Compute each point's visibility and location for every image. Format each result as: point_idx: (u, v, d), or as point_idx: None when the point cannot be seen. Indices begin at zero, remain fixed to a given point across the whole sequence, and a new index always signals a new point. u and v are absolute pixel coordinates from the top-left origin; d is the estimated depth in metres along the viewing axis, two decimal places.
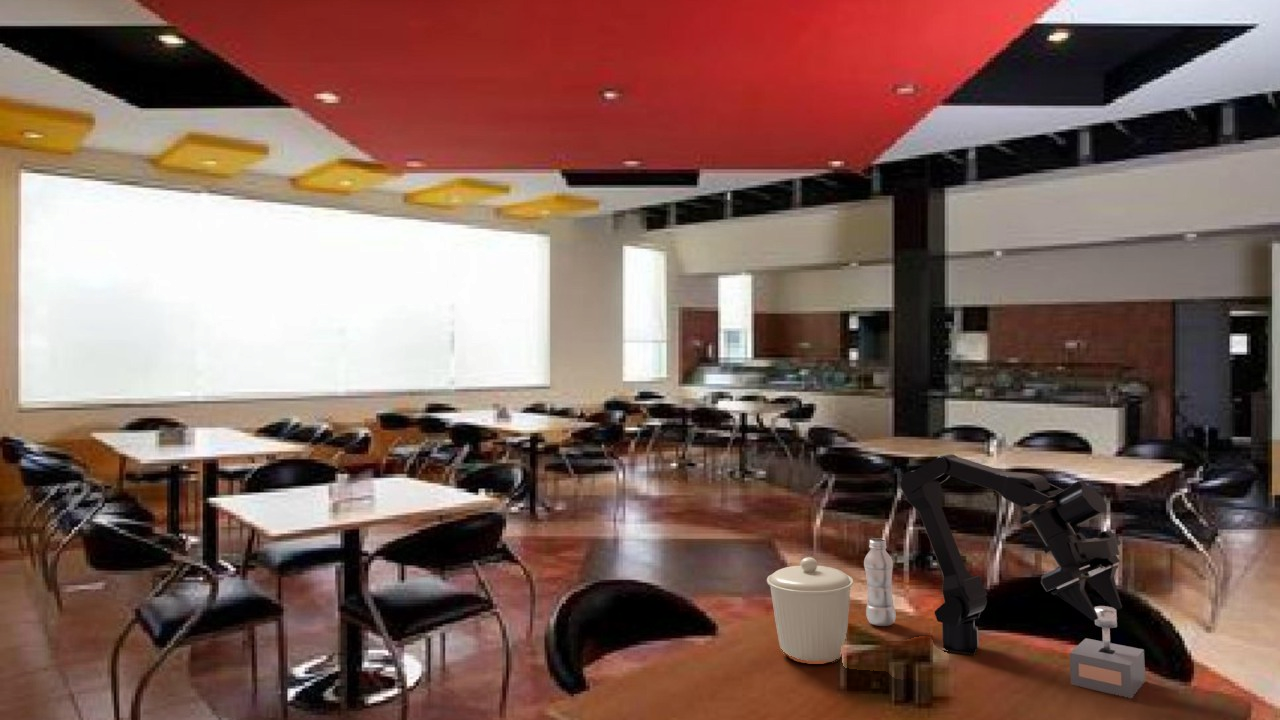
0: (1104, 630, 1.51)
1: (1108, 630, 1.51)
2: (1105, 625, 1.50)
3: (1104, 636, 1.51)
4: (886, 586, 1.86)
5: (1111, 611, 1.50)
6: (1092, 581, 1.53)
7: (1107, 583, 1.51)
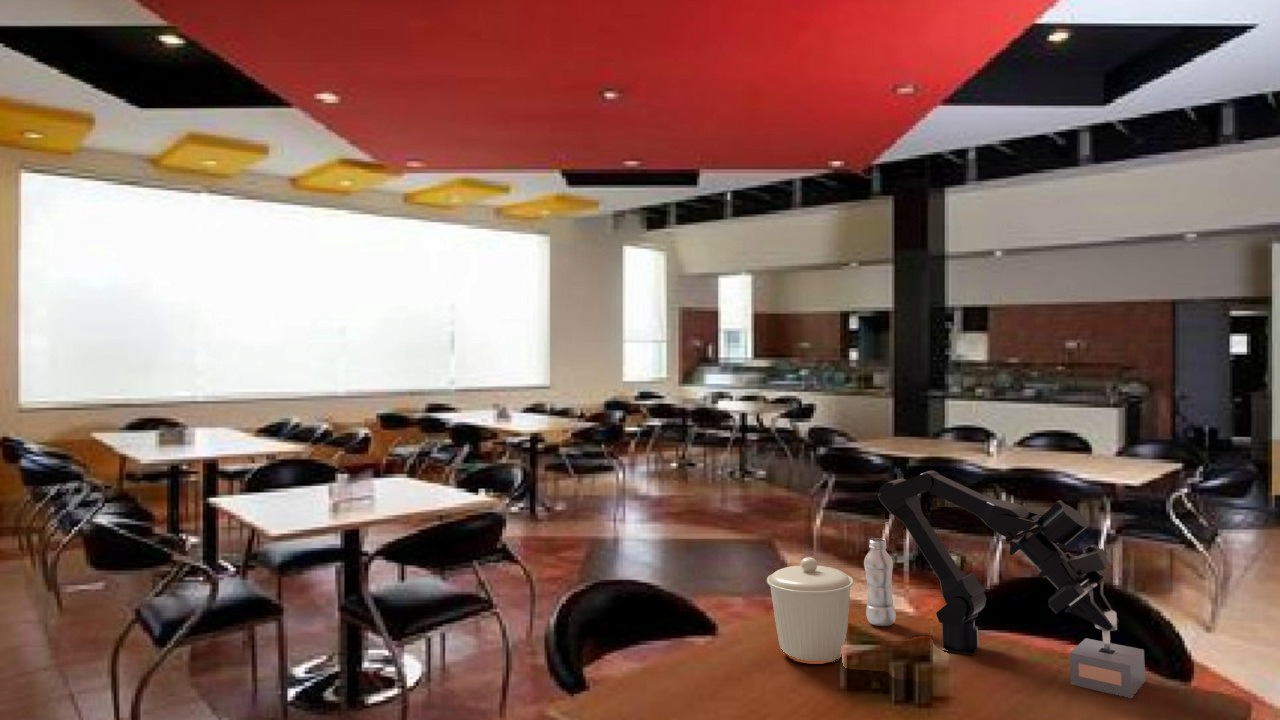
0: (1104, 633, 1.51)
1: (1108, 633, 1.51)
2: None
3: (1104, 639, 1.51)
4: (886, 586, 1.86)
5: (1111, 614, 1.50)
6: None
7: (1099, 600, 1.54)
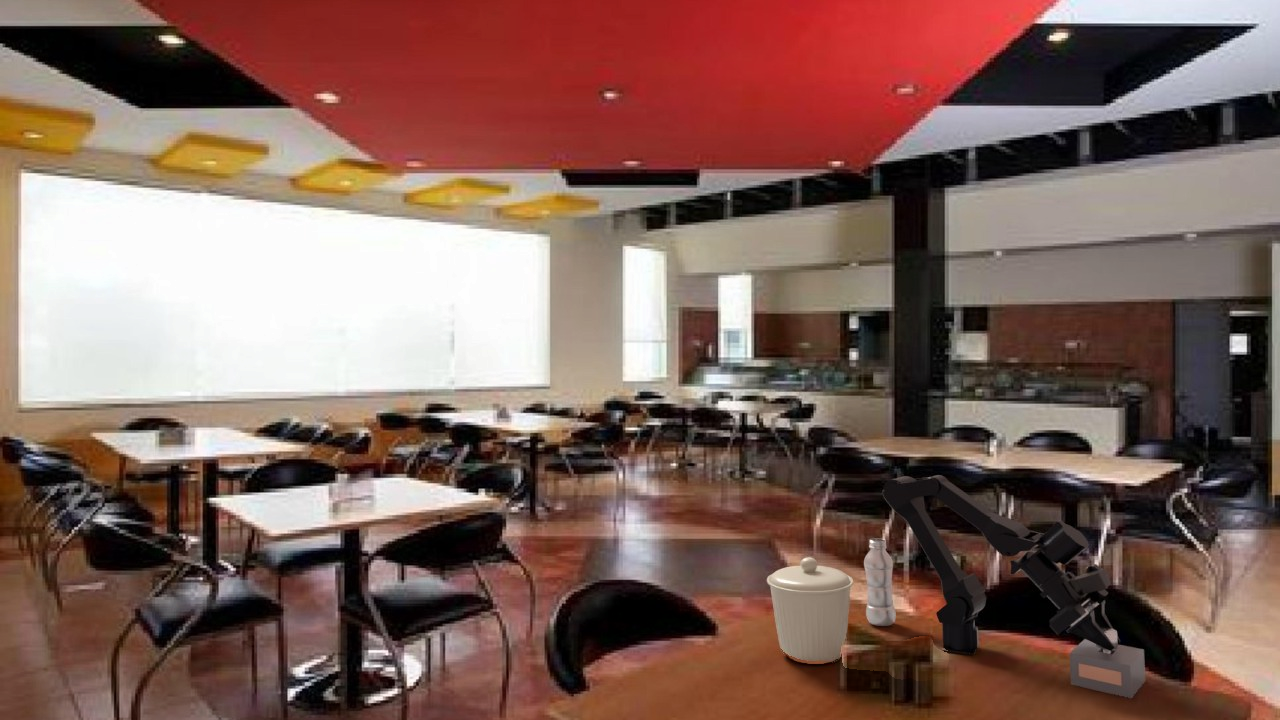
0: (1105, 652, 1.51)
1: (1109, 652, 1.51)
2: None
3: None
4: (886, 586, 1.86)
5: (1112, 633, 1.50)
6: None
7: (1100, 620, 1.54)
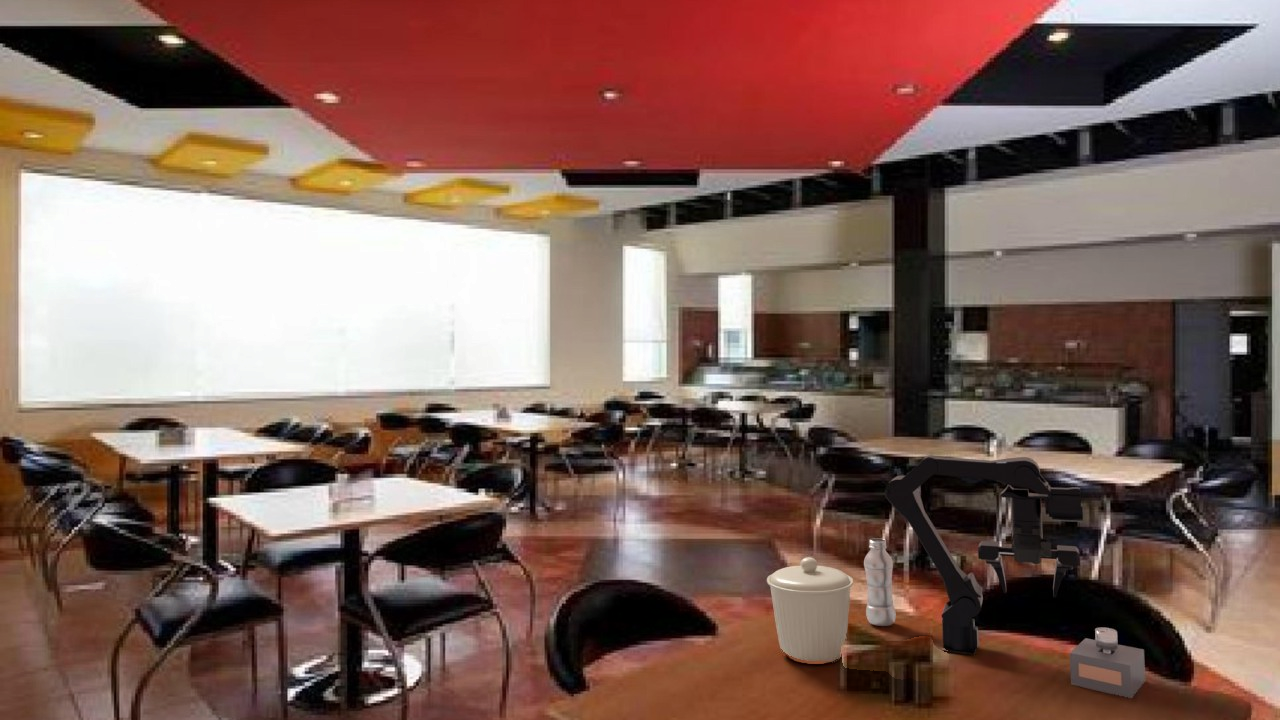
0: (1105, 652, 1.51)
1: (1109, 652, 1.51)
2: (1106, 647, 1.50)
3: None
4: (886, 586, 1.86)
5: (1112, 633, 1.50)
6: (1055, 564, 1.64)
7: (1055, 574, 1.62)
